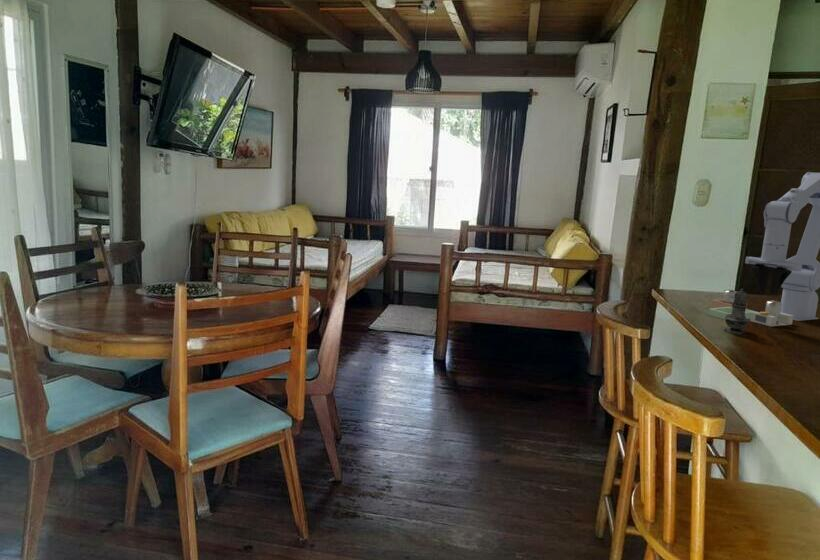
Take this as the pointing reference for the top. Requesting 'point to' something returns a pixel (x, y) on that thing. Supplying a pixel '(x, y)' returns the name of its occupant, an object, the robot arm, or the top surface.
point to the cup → (720, 304)
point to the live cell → (774, 309)
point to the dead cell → (729, 296)
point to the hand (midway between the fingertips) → (767, 292)
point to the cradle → (771, 319)
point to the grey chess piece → (738, 314)
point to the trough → (725, 312)
